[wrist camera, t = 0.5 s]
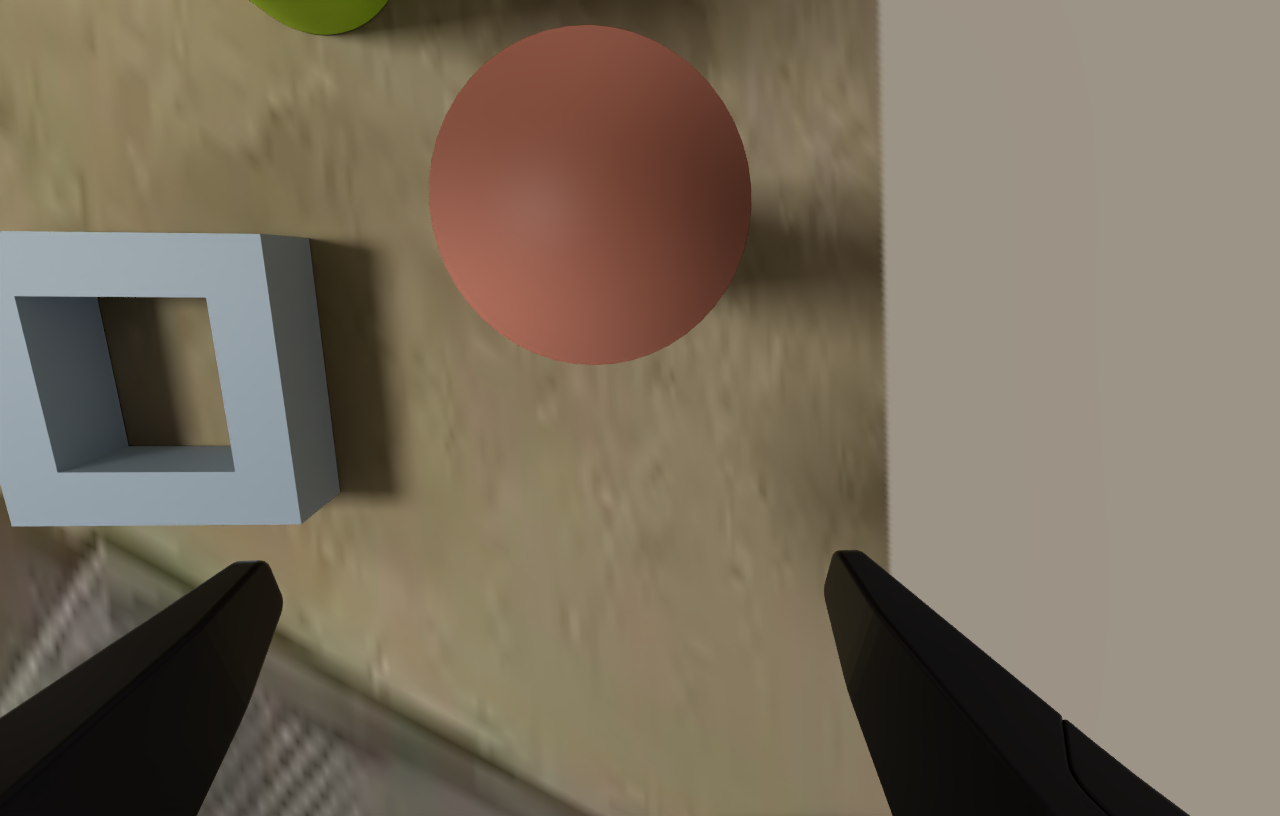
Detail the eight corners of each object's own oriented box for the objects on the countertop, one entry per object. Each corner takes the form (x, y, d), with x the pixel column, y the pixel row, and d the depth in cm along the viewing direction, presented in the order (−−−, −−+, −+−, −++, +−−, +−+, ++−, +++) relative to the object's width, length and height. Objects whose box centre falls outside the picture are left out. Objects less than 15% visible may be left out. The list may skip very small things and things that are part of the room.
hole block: (340, 492, 24) (301, 524, 21) (87, 493, 23) (12, 526, 20) (308, 237, 21) (260, 234, 18) (26, 235, 21) (-69, 230, 18)
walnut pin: (670, 306, 22) (743, 365, 9) (545, 305, 22) (441, 364, 9) (673, 174, 21) (760, 29, 8) (541, 172, 21) (416, 20, 8)
